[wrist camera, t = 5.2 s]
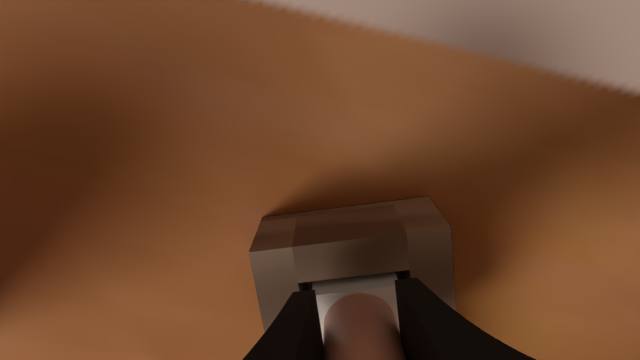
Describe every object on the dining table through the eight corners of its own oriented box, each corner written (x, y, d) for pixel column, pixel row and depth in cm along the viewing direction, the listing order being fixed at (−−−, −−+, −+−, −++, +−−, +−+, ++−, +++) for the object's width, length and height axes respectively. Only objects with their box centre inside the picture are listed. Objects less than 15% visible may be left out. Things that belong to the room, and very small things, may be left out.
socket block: (436, 306, 17) (458, 357, 14) (282, 324, 17) (273, 377, 14) (428, 196, 15) (451, 227, 13) (262, 217, 16) (248, 252, 13)
